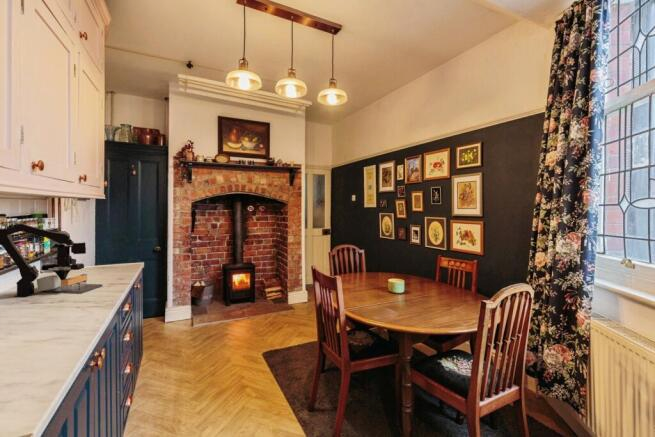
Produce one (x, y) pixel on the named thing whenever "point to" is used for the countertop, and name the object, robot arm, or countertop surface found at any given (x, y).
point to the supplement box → (48, 282)
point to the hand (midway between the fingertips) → (63, 281)
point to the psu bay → (80, 290)
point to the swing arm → (74, 280)
